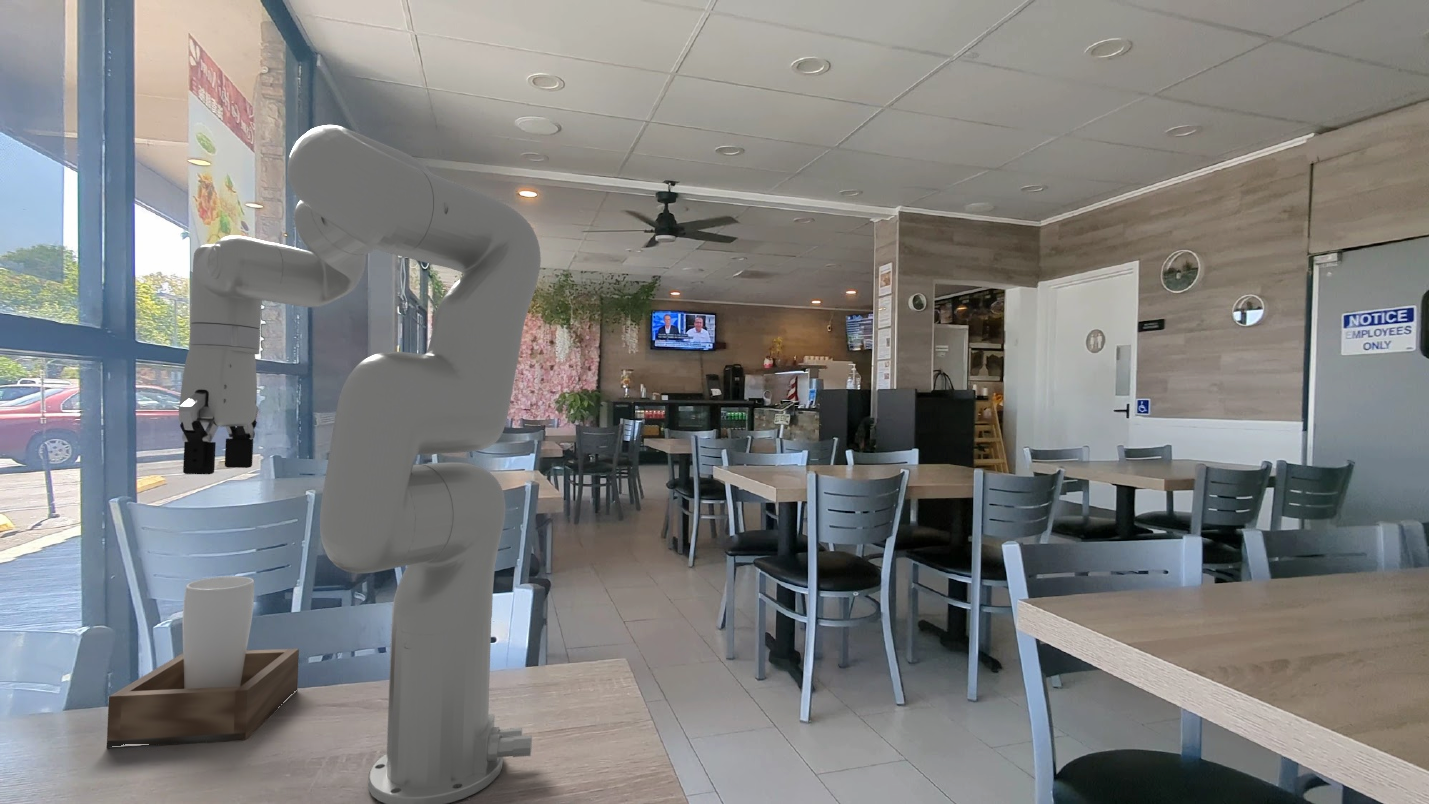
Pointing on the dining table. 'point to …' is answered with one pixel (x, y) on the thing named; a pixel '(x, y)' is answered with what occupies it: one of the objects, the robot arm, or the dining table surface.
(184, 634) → the drinking glass
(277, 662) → the caddy
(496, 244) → the robot arm
